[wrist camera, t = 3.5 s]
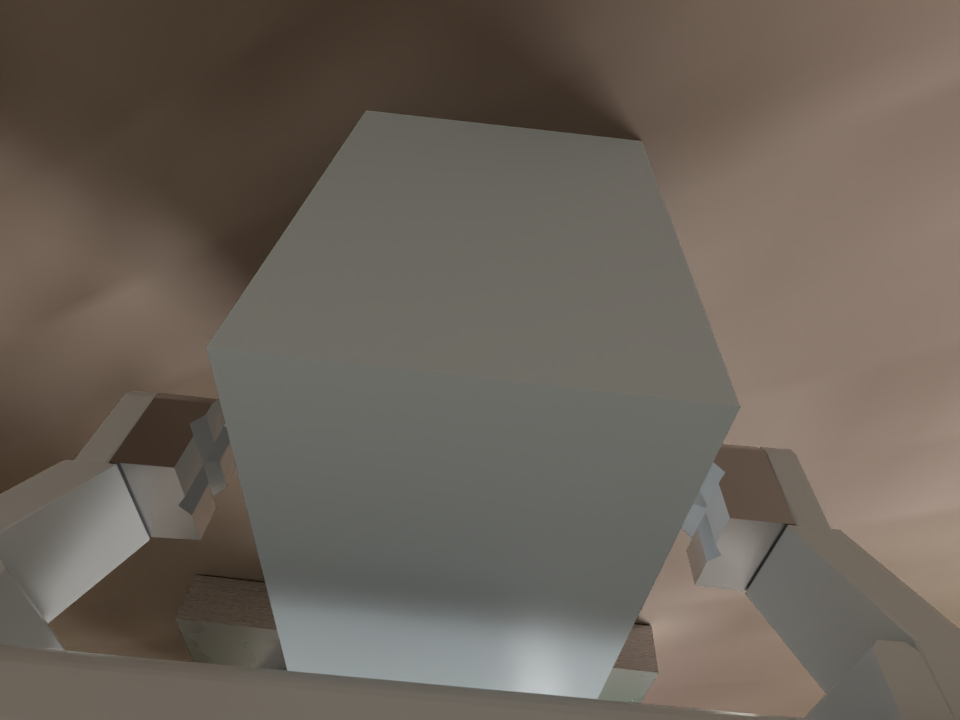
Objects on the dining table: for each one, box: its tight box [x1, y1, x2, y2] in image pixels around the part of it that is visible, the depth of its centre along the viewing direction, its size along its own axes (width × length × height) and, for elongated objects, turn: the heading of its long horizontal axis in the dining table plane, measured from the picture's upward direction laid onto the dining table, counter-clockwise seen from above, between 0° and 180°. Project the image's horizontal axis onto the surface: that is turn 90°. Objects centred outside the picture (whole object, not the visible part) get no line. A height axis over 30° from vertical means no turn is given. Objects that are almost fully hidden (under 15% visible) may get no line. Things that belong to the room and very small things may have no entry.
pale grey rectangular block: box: [206, 110, 740, 699], centre depth 11 cm, size 5×9×7 cm, turn 175°
